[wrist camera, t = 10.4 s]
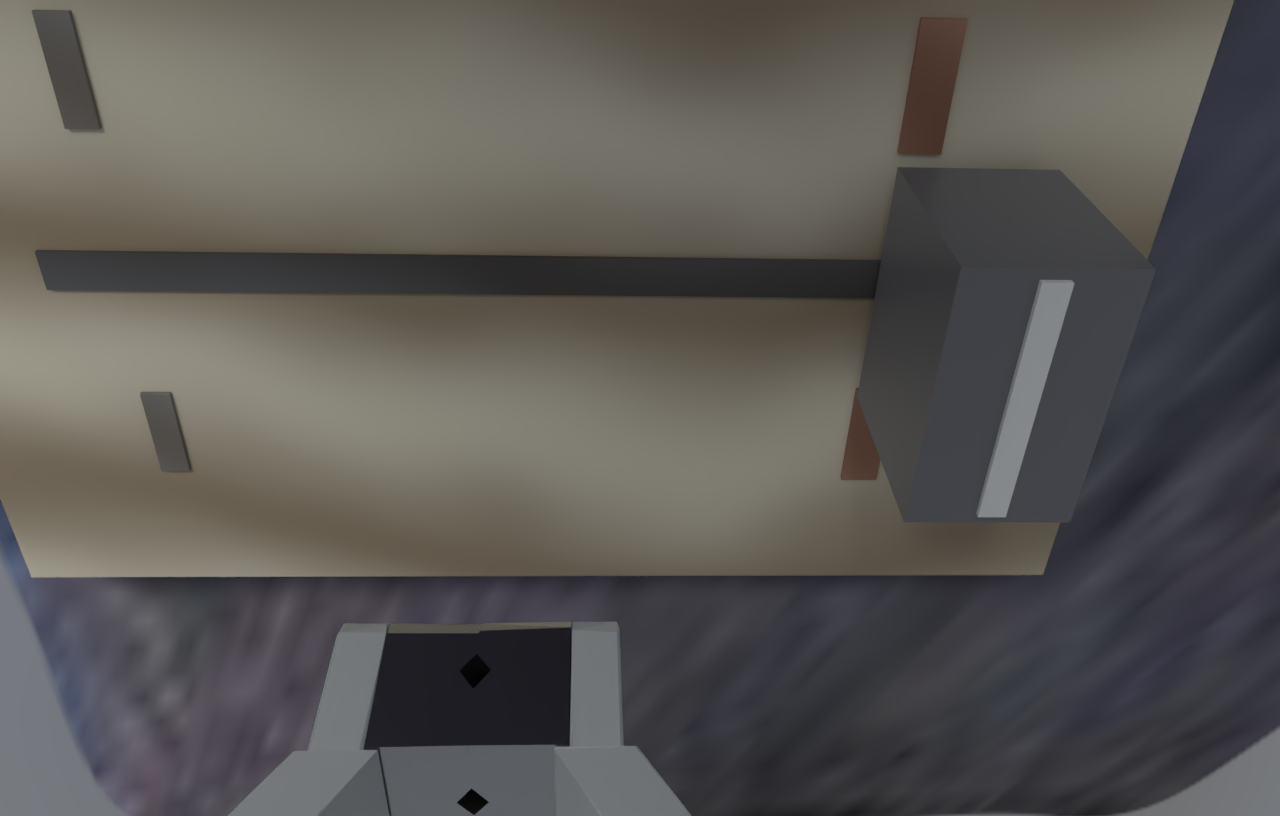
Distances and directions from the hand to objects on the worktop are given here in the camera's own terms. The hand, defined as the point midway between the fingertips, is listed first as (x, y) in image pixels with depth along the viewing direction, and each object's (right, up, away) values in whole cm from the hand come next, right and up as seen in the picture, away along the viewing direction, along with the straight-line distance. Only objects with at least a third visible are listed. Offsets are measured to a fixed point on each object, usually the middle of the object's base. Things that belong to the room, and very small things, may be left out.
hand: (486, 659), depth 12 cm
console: (0, +6, +11) cm, 12 cm away
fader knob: (+8, +5, +9) cm, 13 cm away
